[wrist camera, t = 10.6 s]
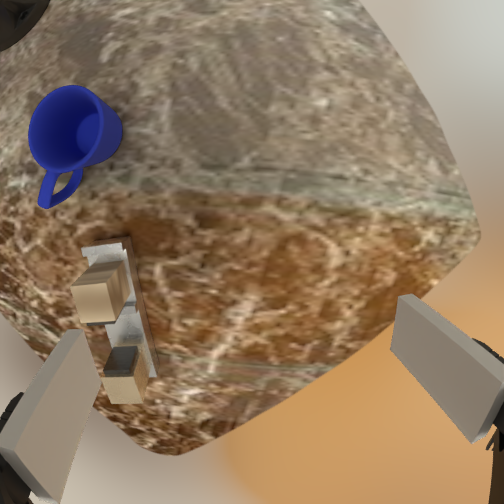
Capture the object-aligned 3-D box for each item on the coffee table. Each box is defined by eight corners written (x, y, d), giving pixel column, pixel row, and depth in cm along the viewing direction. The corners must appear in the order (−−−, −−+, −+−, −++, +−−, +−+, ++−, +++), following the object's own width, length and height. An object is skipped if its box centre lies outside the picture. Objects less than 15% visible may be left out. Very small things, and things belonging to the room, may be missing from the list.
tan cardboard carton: (92, 264, 34) (70, 286, 27) (123, 260, 34) (105, 282, 27) (101, 300, 35) (82, 328, 28) (131, 297, 35) (117, 326, 29)
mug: (50, 185, 33) (7, 195, 24) (84, 94, 31) (48, 76, 21) (103, 208, 35) (70, 225, 25) (141, 113, 33) (118, 98, 23)
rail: (93, 239, 36) (60, 264, 26) (130, 233, 36) (105, 258, 27) (126, 365, 41) (111, 412, 32) (159, 363, 42) (150, 412, 32)
